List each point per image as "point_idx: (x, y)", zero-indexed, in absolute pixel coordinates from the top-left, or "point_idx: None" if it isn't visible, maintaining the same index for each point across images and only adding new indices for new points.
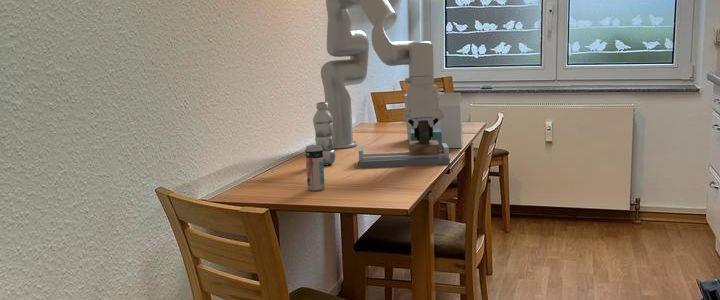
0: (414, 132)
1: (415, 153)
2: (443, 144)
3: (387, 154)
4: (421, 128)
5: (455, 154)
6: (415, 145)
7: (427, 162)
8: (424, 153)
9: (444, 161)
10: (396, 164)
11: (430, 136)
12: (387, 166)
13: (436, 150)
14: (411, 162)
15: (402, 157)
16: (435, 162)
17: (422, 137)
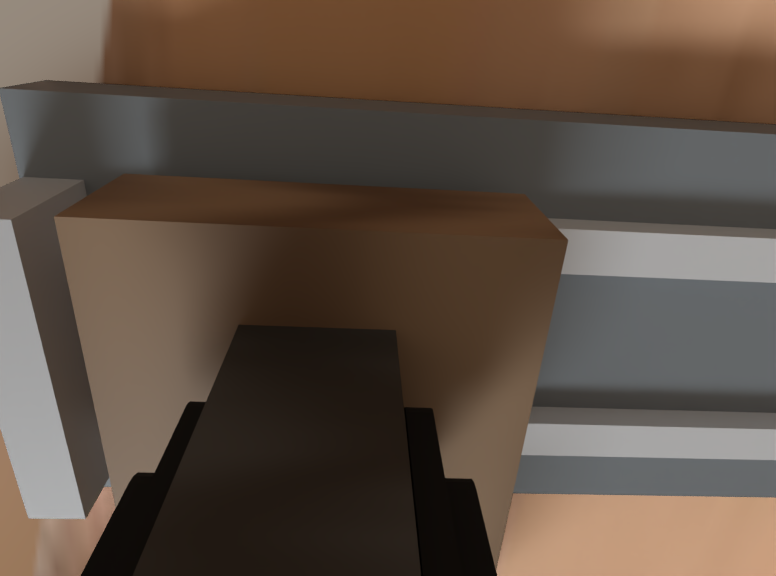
0: (490, 548)
1: (462, 194)
2: (50, 441)
3: (707, 419)
4: (350, 549)
5: (42, 533)
6: (480, 234)
7: (312, 100)
8: (336, 189)
9: (95, 86)
10: (676, 120)
11: (180, 438)
12: (764, 124)
13: (150, 188)
14: (508, 112)
15: (607, 222)
16: (214, 92)
17: (340, 395)
